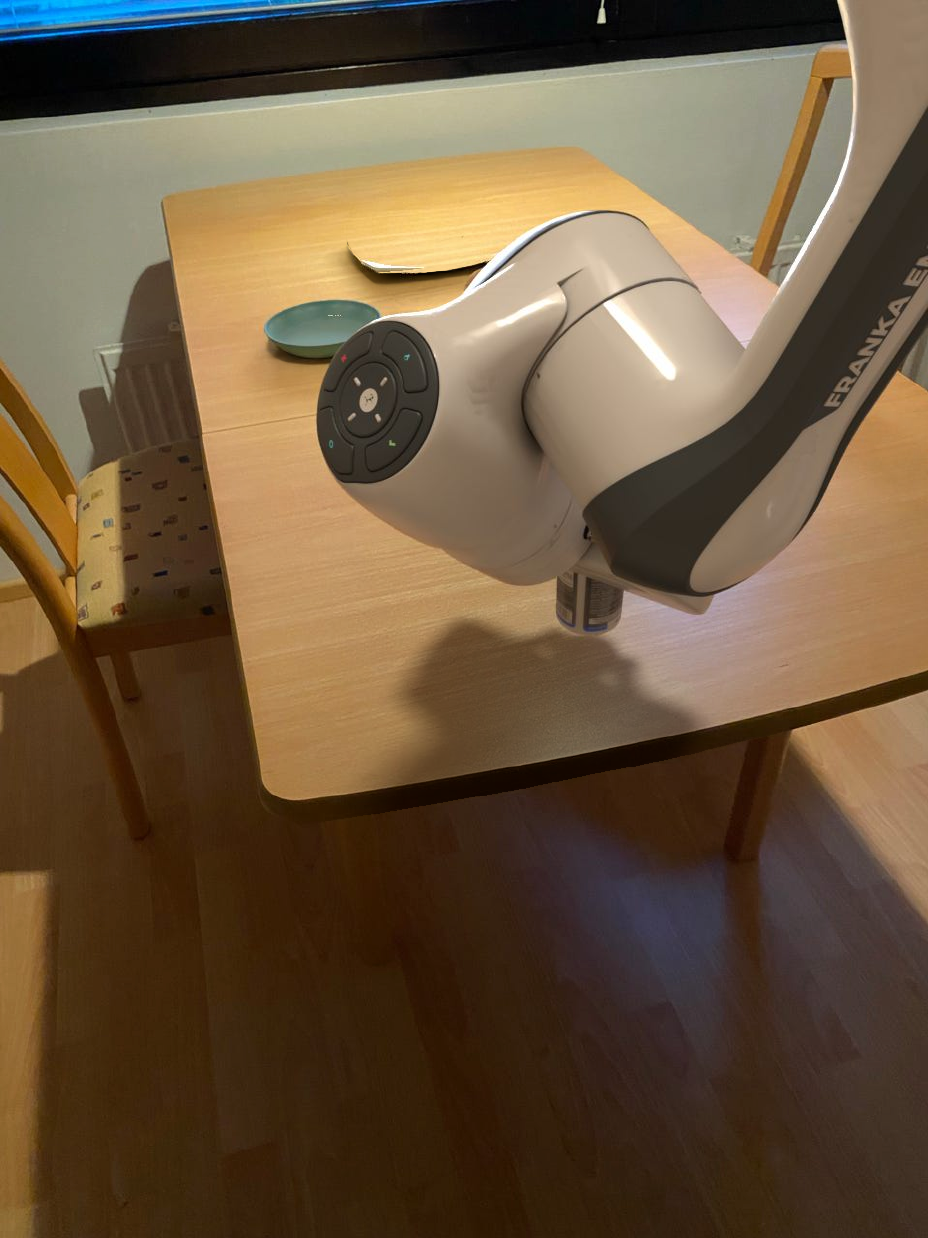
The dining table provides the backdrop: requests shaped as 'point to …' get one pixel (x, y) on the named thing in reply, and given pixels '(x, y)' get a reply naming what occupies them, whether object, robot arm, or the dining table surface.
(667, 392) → the robot arm
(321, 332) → the saucer
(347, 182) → the dining table surface
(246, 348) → the dining table surface
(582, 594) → the pill bottle
